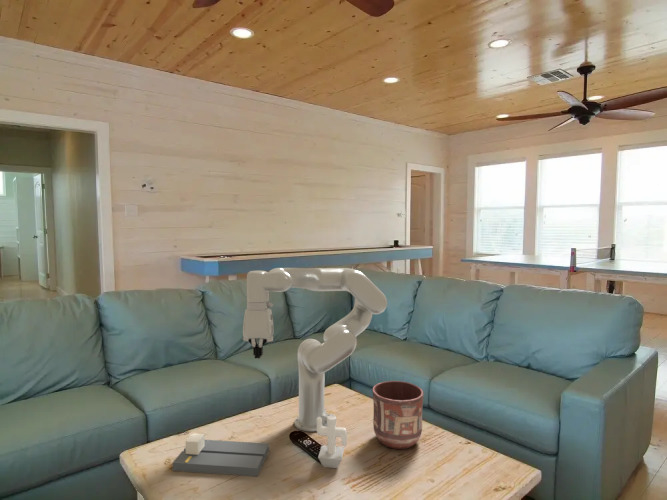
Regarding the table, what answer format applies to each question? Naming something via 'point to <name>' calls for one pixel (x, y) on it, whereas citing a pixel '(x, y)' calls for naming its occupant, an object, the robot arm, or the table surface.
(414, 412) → the pottery
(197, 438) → the fader knob
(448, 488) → the table surface
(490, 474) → the table surface
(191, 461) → the fader board
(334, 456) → the figurine
